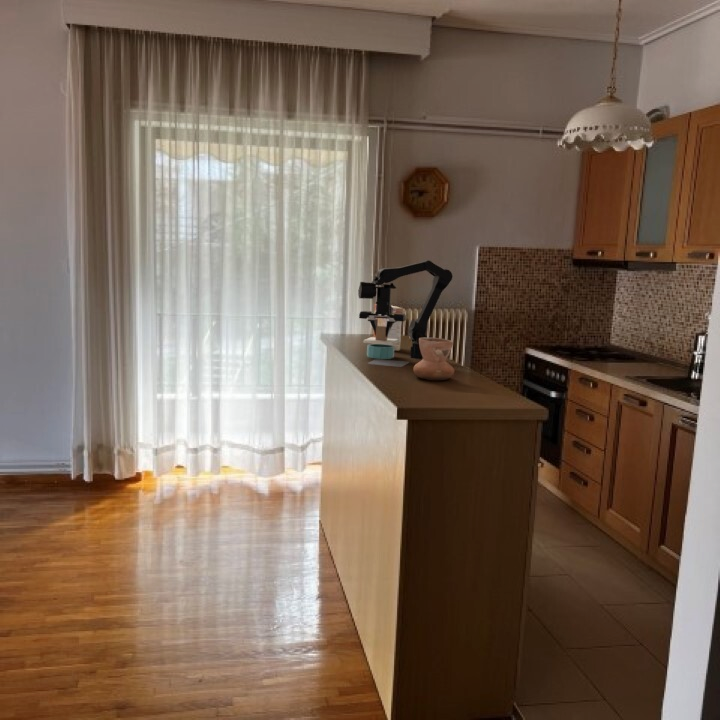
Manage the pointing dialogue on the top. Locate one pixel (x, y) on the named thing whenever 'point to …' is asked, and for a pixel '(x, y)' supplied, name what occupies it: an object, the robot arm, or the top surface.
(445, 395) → the top surface
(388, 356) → the bowl
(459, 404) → the top surface
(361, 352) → the top surface
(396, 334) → the coffeecake box
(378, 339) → the lid
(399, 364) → the mat
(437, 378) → the ceramic jug
